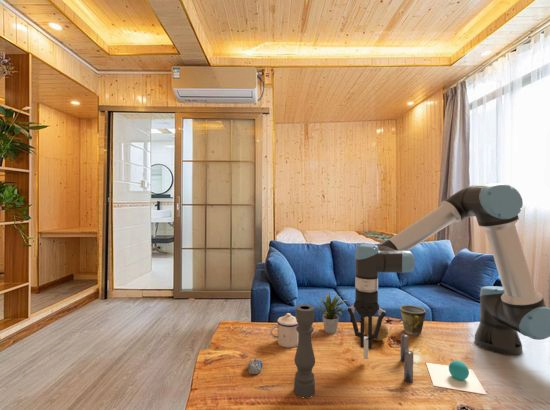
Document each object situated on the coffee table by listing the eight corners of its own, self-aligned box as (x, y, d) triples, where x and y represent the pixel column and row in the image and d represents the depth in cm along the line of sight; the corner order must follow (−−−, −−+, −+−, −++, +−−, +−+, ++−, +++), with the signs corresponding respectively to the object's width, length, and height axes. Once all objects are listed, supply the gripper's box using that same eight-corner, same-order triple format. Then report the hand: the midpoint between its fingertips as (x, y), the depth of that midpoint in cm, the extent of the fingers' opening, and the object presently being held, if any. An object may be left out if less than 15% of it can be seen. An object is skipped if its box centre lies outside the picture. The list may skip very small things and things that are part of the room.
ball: (467, 360, 99) (448, 355, 101) (472, 369, 94) (452, 363, 95) (464, 376, 99) (445, 370, 101) (469, 386, 94) (449, 380, 96)
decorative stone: (248, 360, 106) (261, 354, 105) (252, 372, 105) (265, 367, 104) (242, 365, 100) (256, 360, 99) (246, 378, 98) (260, 373, 98)
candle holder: (292, 385, 93) (293, 304, 93) (312, 384, 94) (313, 303, 93) (295, 398, 87) (296, 311, 87) (317, 397, 88) (317, 311, 87)
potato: (378, 330, 134) (379, 312, 134) (393, 345, 120) (394, 325, 120) (357, 331, 133) (357, 313, 133) (369, 346, 119) (369, 326, 119)
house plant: (340, 342, 122) (340, 301, 122) (308, 334, 129) (309, 296, 129) (351, 330, 134) (351, 292, 134) (322, 323, 141) (322, 288, 141)
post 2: (412, 379, 97) (412, 350, 97) (413, 383, 95) (413, 354, 95) (403, 377, 98) (403, 349, 98) (404, 382, 95) (404, 353, 95)
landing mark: (471, 369, 103) (471, 369, 103) (486, 395, 89) (486, 394, 89) (425, 363, 107) (425, 362, 107) (433, 386, 93) (433, 385, 93)
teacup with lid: (295, 336, 127) (296, 308, 127) (302, 346, 118) (303, 317, 118) (267, 339, 124) (267, 311, 124) (272, 350, 116) (272, 319, 115)
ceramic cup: (397, 326, 138) (397, 304, 138) (420, 327, 137) (421, 305, 137) (405, 339, 125) (405, 315, 125) (431, 341, 124) (431, 316, 124)
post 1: (408, 359, 109) (408, 334, 109) (408, 363, 107) (409, 337, 107) (400, 358, 110) (400, 333, 110) (400, 362, 107) (401, 336, 107)
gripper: (346, 290, 104) (345, 359, 105) (387, 294, 100) (386, 365, 101) (348, 284, 111) (347, 349, 112) (386, 288, 108) (385, 354, 108)
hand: (365, 356), depth 106 cm, fingers closed
